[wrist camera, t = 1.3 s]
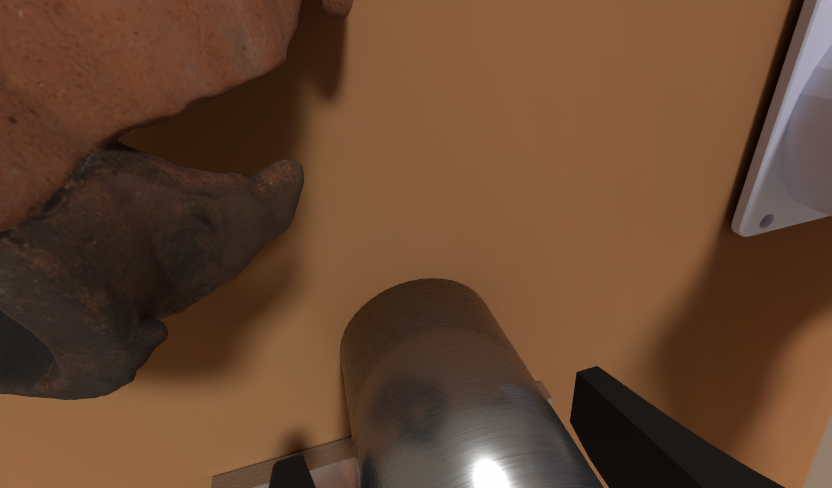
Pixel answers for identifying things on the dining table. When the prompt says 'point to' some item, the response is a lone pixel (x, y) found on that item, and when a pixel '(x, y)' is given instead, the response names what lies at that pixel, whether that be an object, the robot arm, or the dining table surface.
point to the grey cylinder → (448, 398)
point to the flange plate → (310, 466)
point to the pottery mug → (122, 179)
